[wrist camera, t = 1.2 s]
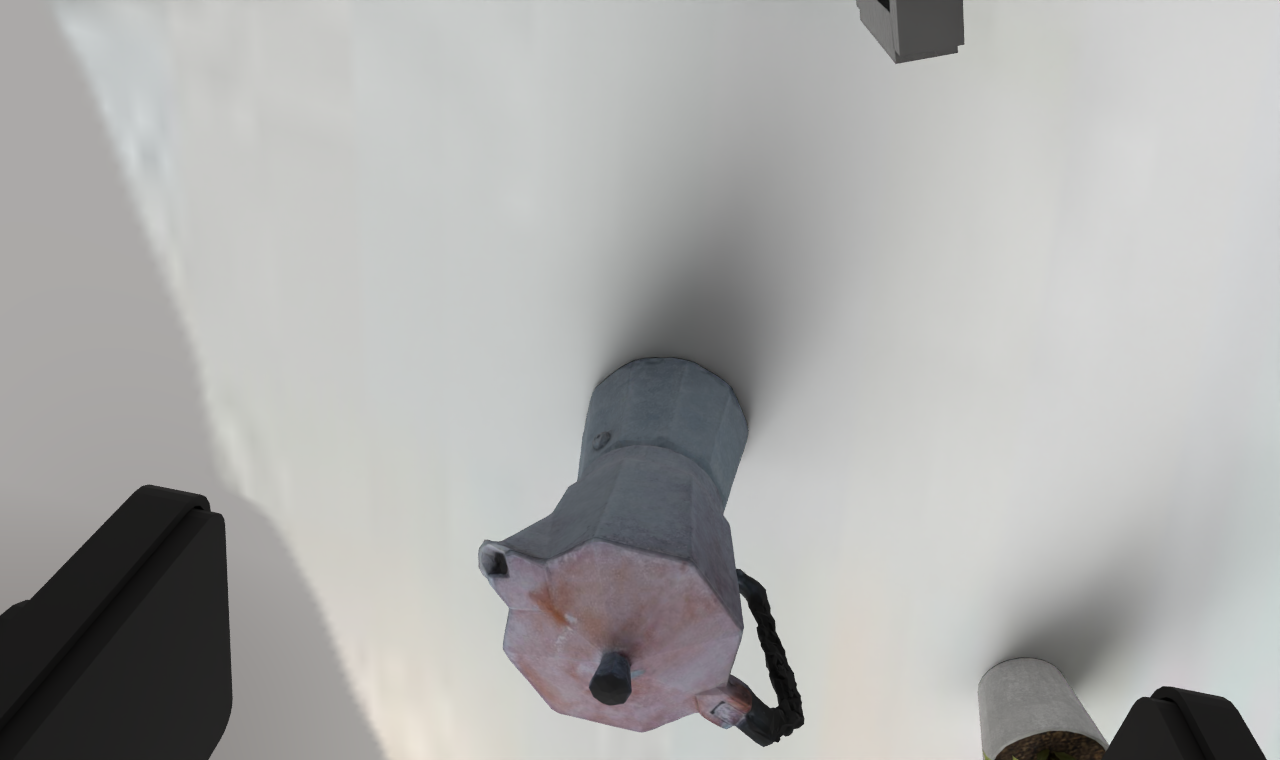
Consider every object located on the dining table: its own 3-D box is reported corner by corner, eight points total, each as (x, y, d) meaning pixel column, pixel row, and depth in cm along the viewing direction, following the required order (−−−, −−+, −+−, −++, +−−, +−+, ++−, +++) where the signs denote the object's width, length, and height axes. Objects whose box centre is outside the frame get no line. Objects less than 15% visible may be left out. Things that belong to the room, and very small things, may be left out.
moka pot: (589, 289, 49) (510, 528, 32) (842, 429, 52) (899, 721, 34) (508, 426, 53) (399, 703, 36) (746, 548, 56) (752, 863, 38)
